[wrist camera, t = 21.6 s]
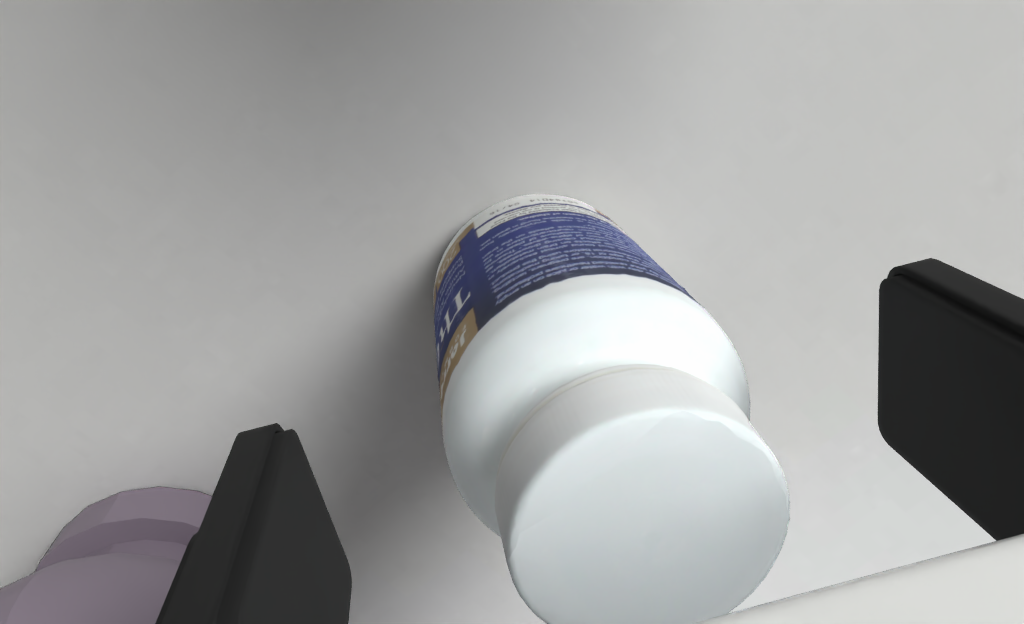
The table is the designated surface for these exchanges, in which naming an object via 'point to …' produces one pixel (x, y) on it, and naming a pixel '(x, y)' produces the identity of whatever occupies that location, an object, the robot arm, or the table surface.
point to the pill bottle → (600, 421)
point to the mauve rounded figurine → (110, 561)
